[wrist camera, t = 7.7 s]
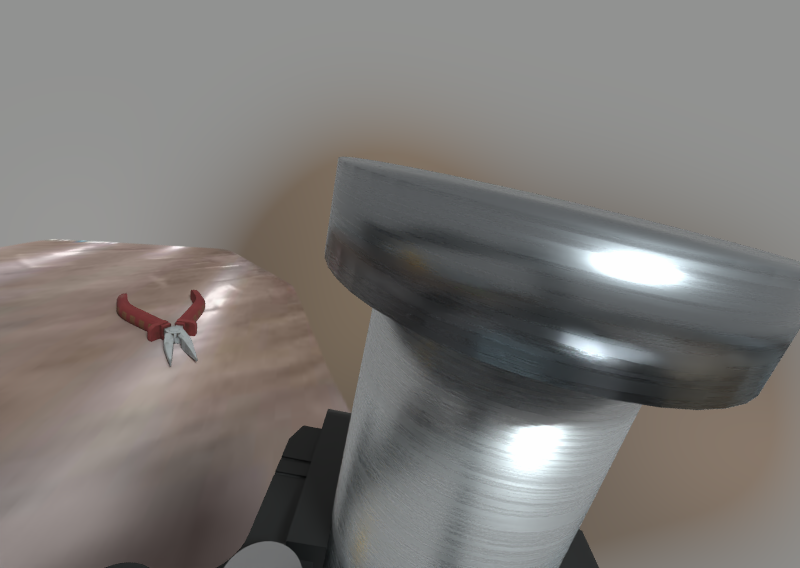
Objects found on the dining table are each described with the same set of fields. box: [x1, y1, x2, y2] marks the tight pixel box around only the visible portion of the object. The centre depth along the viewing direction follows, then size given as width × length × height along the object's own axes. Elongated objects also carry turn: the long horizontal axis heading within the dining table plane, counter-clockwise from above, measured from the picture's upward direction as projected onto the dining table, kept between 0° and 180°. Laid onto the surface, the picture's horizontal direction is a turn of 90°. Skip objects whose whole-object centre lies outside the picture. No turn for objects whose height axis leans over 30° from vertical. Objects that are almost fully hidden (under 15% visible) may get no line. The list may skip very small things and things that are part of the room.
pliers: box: [117, 290, 205, 366], centre depth 53 cm, size 12×20×3 cm, turn 38°
